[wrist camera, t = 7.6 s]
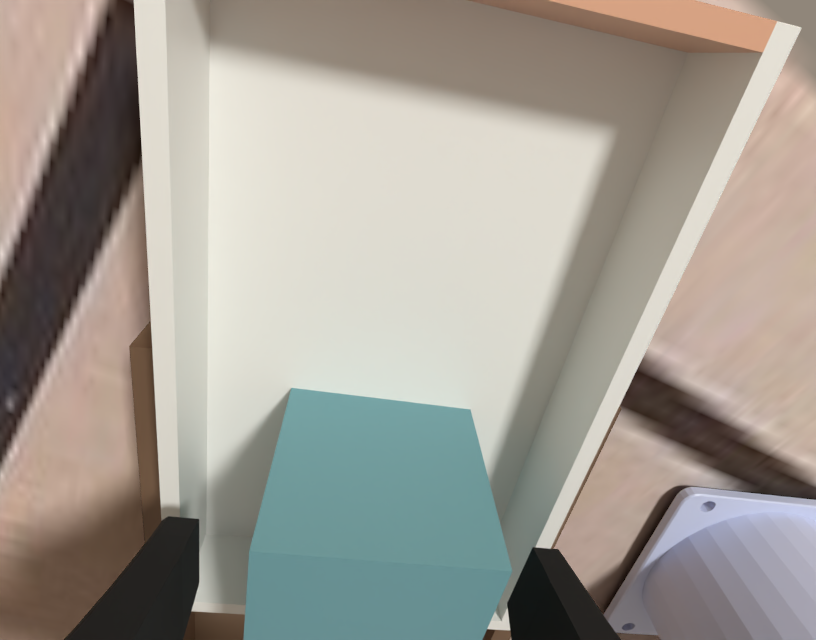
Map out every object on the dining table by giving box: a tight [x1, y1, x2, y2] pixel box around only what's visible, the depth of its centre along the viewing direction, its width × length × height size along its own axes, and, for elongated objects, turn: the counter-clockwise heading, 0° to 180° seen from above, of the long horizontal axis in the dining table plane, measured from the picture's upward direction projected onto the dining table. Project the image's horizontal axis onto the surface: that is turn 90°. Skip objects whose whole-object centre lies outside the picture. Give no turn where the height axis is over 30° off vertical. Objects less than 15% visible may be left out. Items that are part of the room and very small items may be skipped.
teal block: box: [243, 388, 513, 640], centre depth 11 cm, size 4×4×4 cm
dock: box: [129, 321, 621, 640], centre depth 16 cm, size 11×16×3 cm
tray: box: [134, 0, 801, 631], centre depth 11 cm, size 9×15×3 cm, turn 169°
